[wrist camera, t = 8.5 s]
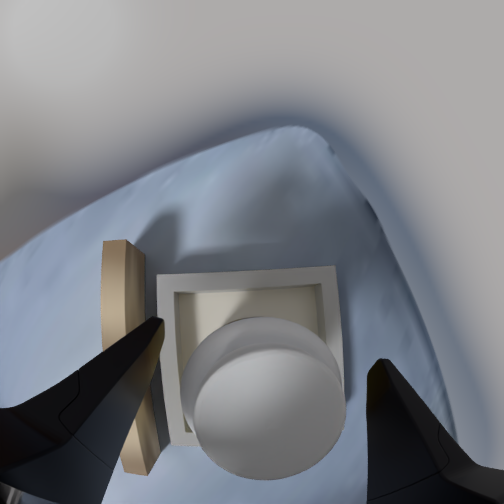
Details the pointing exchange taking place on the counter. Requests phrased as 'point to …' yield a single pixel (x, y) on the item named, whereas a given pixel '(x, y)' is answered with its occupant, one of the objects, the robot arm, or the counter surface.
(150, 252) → the counter surface
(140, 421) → the oak sill
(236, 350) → the supplement bottle
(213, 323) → the square tray
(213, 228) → the counter surface
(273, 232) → the counter surface
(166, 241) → the counter surface
